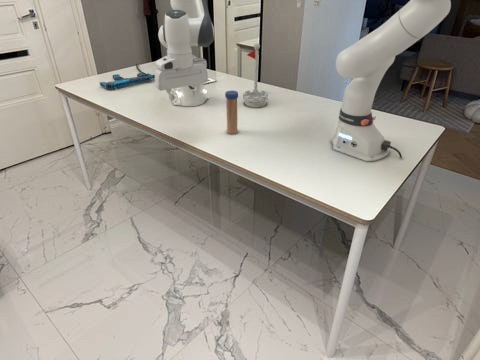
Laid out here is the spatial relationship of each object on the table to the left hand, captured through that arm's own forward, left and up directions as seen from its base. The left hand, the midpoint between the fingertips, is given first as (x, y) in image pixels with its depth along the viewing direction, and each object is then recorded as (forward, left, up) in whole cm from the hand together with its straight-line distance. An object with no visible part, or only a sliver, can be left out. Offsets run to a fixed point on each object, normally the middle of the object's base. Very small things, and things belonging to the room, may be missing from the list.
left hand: (184, 97), depth 131 cm
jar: (+1, +21, -19) cm, 28 cm away
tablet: (-82, +36, -19) cm, 91 cm away
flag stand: (-23, +48, -19) cm, 57 cm away
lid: (+1, +21, -2) cm, 21 cm away
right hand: (+5, +54, +29) cm, 61 cm away
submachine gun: (-96, +2, -19) cm, 98 cm away
